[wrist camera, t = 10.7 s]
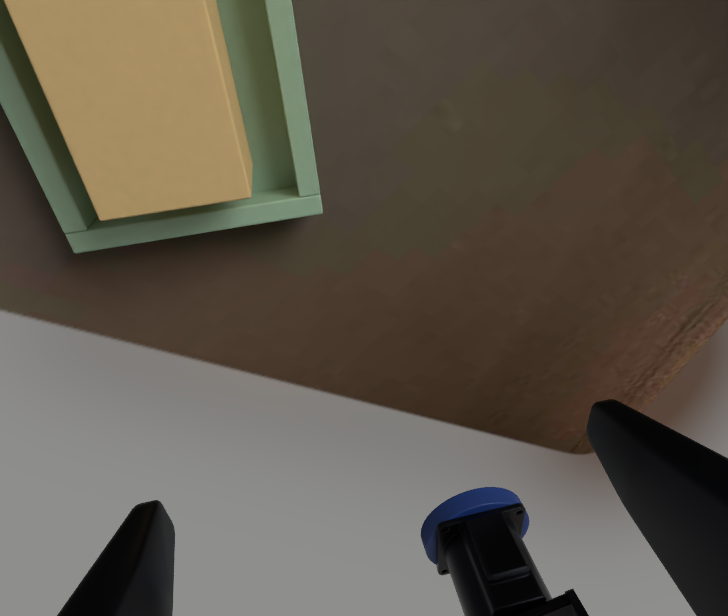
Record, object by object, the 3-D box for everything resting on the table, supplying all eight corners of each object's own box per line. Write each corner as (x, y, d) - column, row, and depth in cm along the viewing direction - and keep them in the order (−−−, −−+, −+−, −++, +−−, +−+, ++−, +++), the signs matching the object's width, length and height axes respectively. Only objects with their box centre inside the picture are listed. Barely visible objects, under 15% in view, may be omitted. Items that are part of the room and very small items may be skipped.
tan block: (253, 164, 18) (252, 199, 14) (129, 182, 17) (99, 222, 14) (191, -113, 13) (169, -155, 10) (22, -100, 13) (-60, -139, 10)
